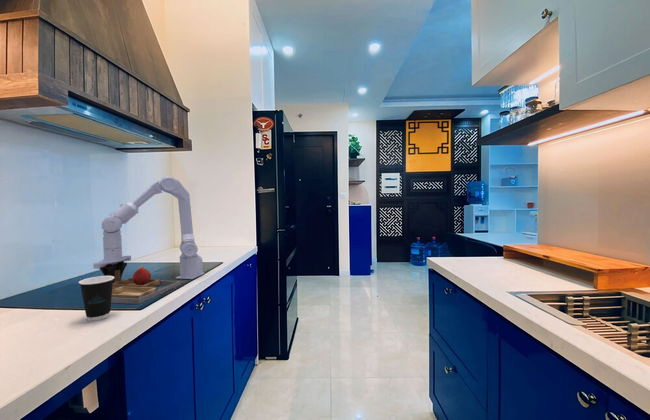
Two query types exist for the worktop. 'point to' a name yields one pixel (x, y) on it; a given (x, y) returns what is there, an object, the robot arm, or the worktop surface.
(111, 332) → the worktop surface
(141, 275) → the onion
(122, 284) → the walnut tray
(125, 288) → the oak tray
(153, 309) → the worktop surface
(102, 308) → the dixie cup
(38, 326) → the worktop surface
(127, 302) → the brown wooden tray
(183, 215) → the robot arm
